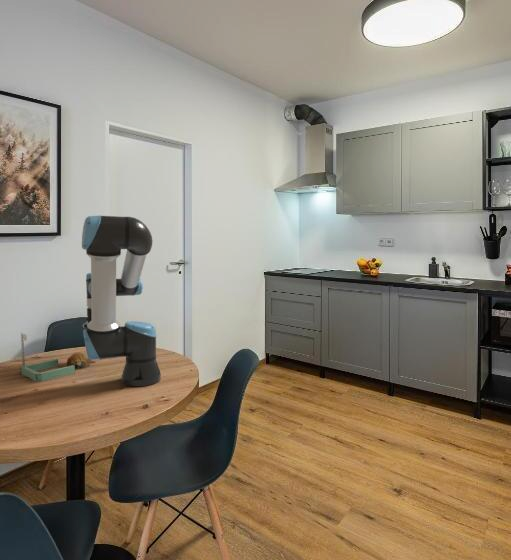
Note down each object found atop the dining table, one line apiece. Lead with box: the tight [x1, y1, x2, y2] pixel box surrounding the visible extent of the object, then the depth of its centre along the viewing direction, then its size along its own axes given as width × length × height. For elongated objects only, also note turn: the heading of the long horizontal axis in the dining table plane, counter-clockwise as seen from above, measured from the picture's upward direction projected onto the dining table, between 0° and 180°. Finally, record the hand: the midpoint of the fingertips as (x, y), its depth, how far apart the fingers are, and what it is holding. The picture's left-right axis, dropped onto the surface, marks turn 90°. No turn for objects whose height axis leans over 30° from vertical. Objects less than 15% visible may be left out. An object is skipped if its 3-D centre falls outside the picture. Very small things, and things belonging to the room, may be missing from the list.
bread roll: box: [66, 351, 92, 370], centre depth 183 cm, size 10×10×8 cm
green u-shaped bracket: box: [19, 332, 76, 383], centre depth 172 cm, size 16×15×17 cm
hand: (97, 358), depth 189 cm, fingers closed
